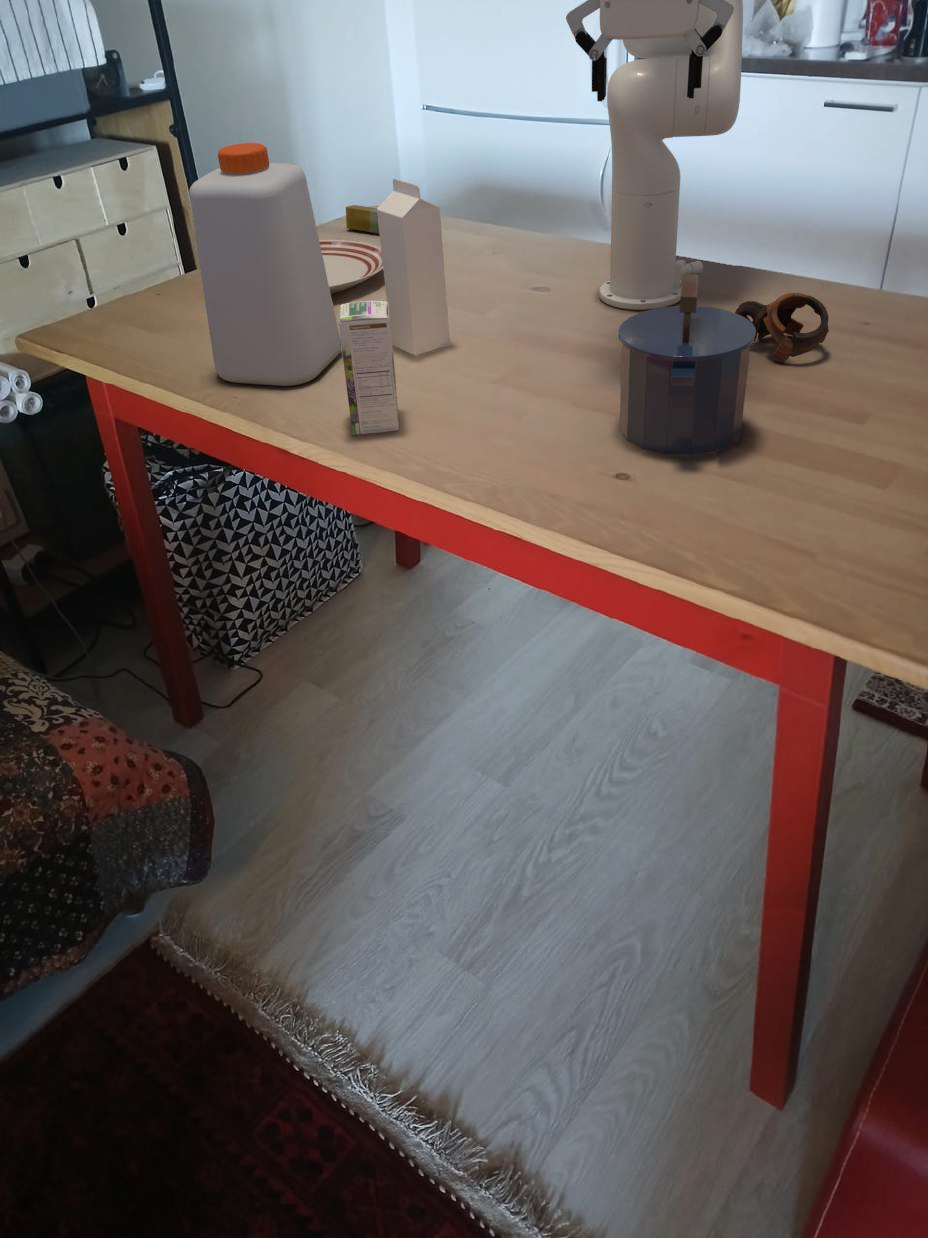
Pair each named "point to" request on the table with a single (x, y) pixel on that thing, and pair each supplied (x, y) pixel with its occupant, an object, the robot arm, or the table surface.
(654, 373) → the crock
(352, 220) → the medication box
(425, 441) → the table surface
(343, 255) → the dinner plate
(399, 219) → the milk
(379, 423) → the syrup box
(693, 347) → the lid
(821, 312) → the rusty metal shackles
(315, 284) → the plastic bottle
